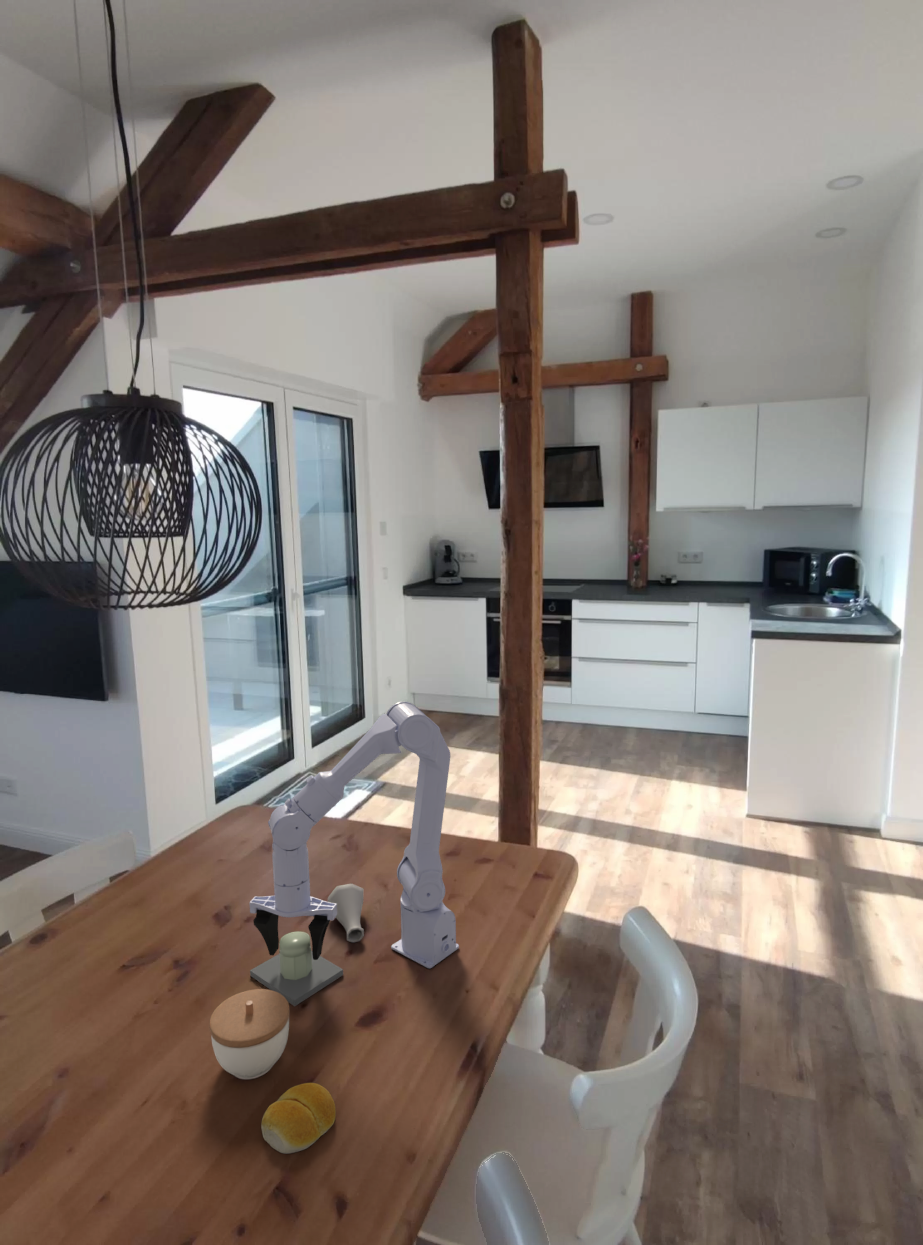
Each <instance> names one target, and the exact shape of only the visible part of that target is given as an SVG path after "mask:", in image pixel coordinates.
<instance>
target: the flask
mask: <svg viewBox="0 0 923 1245" xmlns="http://www.w3.org/2000/svg"><path fill="white" fill-rule="evenodd" d="M335 886H336V885H335ZM327 902H330V903H337V915H336V917H335V919H336V920H337V921H338V922H339V923H340V924H341V925H342V926H343V929H344V930H345V932H346V941H348V942H350V943H353V944H354V943H357V942H361V940H362V939H363V938H364V936H365V934H364V933H365V931H364V928H362V925H361V914H362V910H363V904H364V888H363V887H360V886H358V885H356V884H355V883H354V884H353V883H347V884H342V885H337V886H336V887H335V888H334V889H333V890H332V892H331V893H330V894H329V895H328V897H327Z"/></svg>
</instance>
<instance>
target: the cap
mask: <svg viewBox="0 0 923 1245" xmlns="http://www.w3.org/2000/svg"><path fill="white" fill-rule="evenodd" d="M278 950H279V951H278V954H280V971H281V974H282V976H283V977H284V979H291V980H297V979H300V978H303V977H306V976H307V975H308V974H309V972H310V971H311V970H312V956H311V951H312V945H311V935H310V934H309V933H307V932H305V931H292V932H288V933H286V934H284V935H283V936H281V937H280V938H279V949H278Z"/></svg>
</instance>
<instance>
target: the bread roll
mask: <svg viewBox="0 0 923 1245" xmlns="http://www.w3.org/2000/svg"><path fill="white" fill-rule="evenodd" d="M336 1112H337V1110H336V1104H335V1101H334V1099H333V1096H332V1095H331V1093H330V1092H329V1090H327V1088H325V1087H324V1086H322V1085H321V1084H319V1083H315V1082H304V1083H301V1084H297V1085H294V1086H291V1087H290V1088H288V1089H287V1090H286V1091H285V1092H283V1093H282V1095H280V1096H279V1097H278V1099H277V1100H276V1101H275V1102H272V1103H271V1104H270V1105H269V1106H268V1107H267V1108H266V1110H265V1112H264V1113H263V1116H262V1119H261V1125H260V1126H261V1133H262V1138H263V1139H264V1141H265V1142H267V1144H268V1145H269V1146H270V1147H271V1148H273V1149H274V1150H275V1151H277V1152H279V1153H281V1154H287V1155H288V1154H294V1153H298V1152H300V1151H301V1152H302V1151H304V1150H306V1149H308V1148H309V1147H310V1146H312V1145H314V1144H315V1143H316V1142H317V1141H318V1140H319V1138H320V1137H322V1136H323V1135H325V1133H327V1132H328V1131H329V1129H331V1127H332V1126H333V1125H334V1123H335V1120H336Z"/></svg>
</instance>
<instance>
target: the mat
mask: <svg viewBox="0 0 923 1245" xmlns="http://www.w3.org/2000/svg"><path fill="white" fill-rule="evenodd" d="M311 956H312V970H311V971H310V972H309V974H308V975H307V976H306V977H303V978H300V979H297V980H291V979H284V977H283V976H282V974H281V971H280V953H278V954H275V956H274V955H273V957H271V958H270V959H268V960H266V961H264V962H262V963H261V964H259V965H257V966H255V967H254V968H252V969H250V970H249V975H250V977H251V978H253V979H254V980H256V981H257V982H259V983H260V984H262V985H263V986H264V987H266V989H267V988H268V990H272V991H276V992H278V993H280V994H281V995H283V996H284V997H285V998H286V1000H287V1001H288V1004H289V1005H290V1004H291V1006H293V1007H296V1006H298V1005H299V1004H301V1003H303V1002H304V1001H305V1000H307V999H308V998H310V997H312V996H313V995H314V994H316V993H317V992H319V991H321V990H322V989H324V988H325V987H328V986H329V985H331V984H332V983H333V982H335V981H336V980H338V979H340V977H343V976H344V969H343V968H341V967H340V966H338V965H336V964H335V963H333V962H332V961H331V960H329V959H326V958H325V957H323V956H321V955H320V956H319V958H318V960H313V955H312V950H311Z"/></svg>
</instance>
